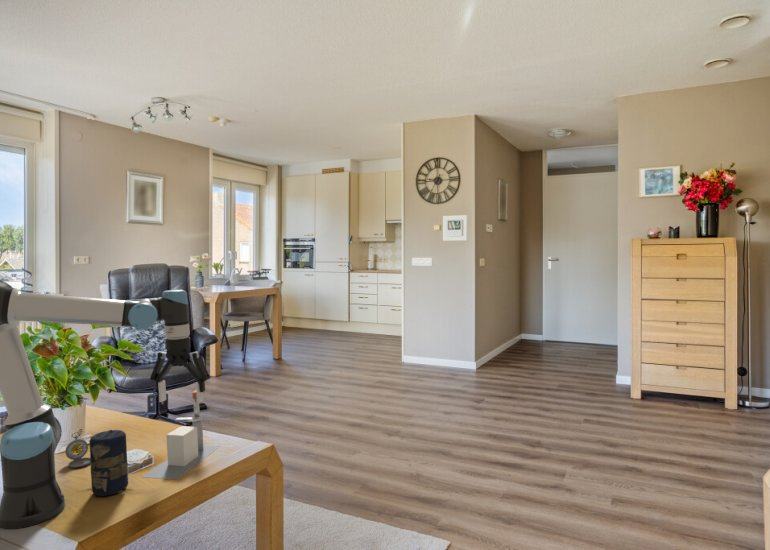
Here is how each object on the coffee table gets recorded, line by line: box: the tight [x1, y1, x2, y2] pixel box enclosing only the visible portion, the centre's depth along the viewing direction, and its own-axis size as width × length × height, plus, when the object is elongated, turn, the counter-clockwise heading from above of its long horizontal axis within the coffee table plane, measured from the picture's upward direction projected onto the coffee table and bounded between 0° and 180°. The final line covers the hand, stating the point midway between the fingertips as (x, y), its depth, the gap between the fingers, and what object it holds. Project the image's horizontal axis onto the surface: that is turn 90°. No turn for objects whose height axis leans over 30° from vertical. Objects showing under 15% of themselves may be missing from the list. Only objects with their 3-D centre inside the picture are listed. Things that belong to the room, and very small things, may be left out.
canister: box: [89, 429, 129, 497], centre depth 149 cm, size 10×10×18 cm
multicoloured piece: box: [174, 389, 205, 423], centre depth 177 cm, size 9×7×10 cm
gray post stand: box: [141, 419, 221, 480], centre depth 167 cm, size 26×12×11 cm, turn 169°
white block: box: [165, 425, 198, 466], centre depth 167 cm, size 8×6×10 cm
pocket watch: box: [65, 431, 90, 469], centre depth 170 cm, size 8×8×10 cm
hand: (181, 401), depth 166 cm, fingers open, 13 cm apart
